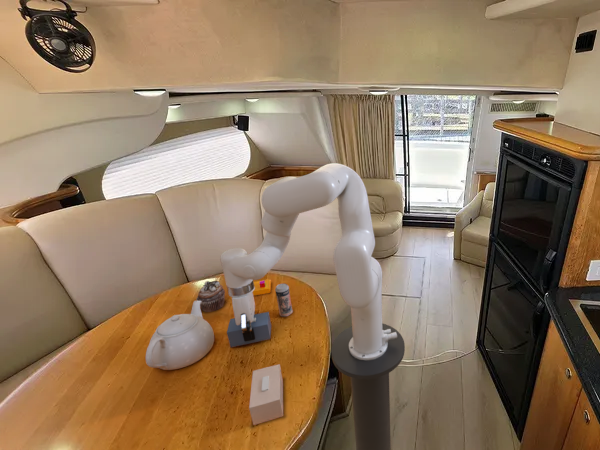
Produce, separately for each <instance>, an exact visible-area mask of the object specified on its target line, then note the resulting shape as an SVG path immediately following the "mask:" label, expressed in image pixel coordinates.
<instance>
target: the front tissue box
mask: <svg viewBox="0 0 600 450" xmlns="http://www.w3.org/2000/svg"><path fill="white" fill-rule="evenodd" d="M251 375H252V376H251V387H250V394H249V395H250V396H249V405H248V409H249V414H250V418H251V421H252V425H253V426H256V425H259V424H262V423H266V422H269V421H273V420H276V419H279V418H282V417H284V379H283V374H282V368H281V364H280V363H279V364H274V365H270V366H267V367H261V368H258V369H255V370H252V374H251Z"/></svg>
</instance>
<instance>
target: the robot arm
mask: <svg viewBox="0 0 600 450" xmlns="http://www.w3.org/2000/svg"><path fill="white" fill-rule="evenodd" d="M335 200H337V203H338V205H337V207H338V217H339V222H340V229H341V235H340V238H339V240H338V241H337V243H336V245H335V247H334V249H333V266H334V270H335V275H336V281H337V285H338V290H339V293H340V296H341V298H342V300H343V301H344V302H345V304H346V305H348V306H349V307H350V315H351V317H350V318H351V326H352V331H353V337H352V339H351V340H350V342H349V351H350V353H351V355H352V356H354V357H355V358H357V359H360V360H373V359H376V358H378V357H380V356H382V355H383V354H384V353H385V351H386V350H387V347H388V342H387V341H388V340H389V339H395V338H397V333H396V332H393V333H391V330H390V329H388V330H382V323H383V302H382V301H383V300H382V298H383V297H382V296H383V295H382V294H383V291H382V290H383V270H382V266H381V264H380V263H379V261H378V260H377V259H376V258H375V257H373V253H374V250H375V247H376V239H375V238H376V237H375V232H374V227H373V221H372V215H371V209H370V203H369V202H370V201H369V197H368V192H367V188H366V186H365V183H364V181H363V179H362V178H361V176H360V175H359V174H358V173H357V172H356V171H355V170H354V169H352V168H351V167H349V166H347V165H346V164H342V163H337V162H333V163H327V164H325V165H322V166H321V167H319V168H317V169H315V170H314V171H312V172H311V173H308V174H305V175H301V176H299V177H296V176H286V177H283V178H281V179H279V180H277V181H275V182H272V183H271V184H269V185H268V186H266V188H265V189H264V190H263V192H262V194H261V205H262V207H263V209H264V212H263V215H262V217H261V220H260V225H261V227H262V228H263V230H264V231H266V233H265V235H264V238H263V240H262V242H261V243H260V245H258V247H257V248H255V249H254V250H253V251H252V252H250V253H248V251H247V250H246V249H244V248H242V247H234V248H229V249H227V250H225V251H223V252H222V253H221V254H220V257H219V260H220V265H221V269H222V274H223V277H224V281H225V285H226V289H227V293H228V296H229V297H231V304H232V310H233V317H234V318H235V322H236V325H240V323H241V326H242V333H243V338H244V341H245V342H246V341H251V340H255V334H254V330H253V329H252V323H251V322H252V321H253V318H254V314H256V311H255V310H256V303H255V296H253V291H254V289H255V286H254V282H255V281H259V280H262V279H263V278H264V277H266V275H267V274H268V273H269V272H270V271H271V270H272V269H273V268H274V266H276V265H277V264H278V263H279V261H280V260H281V259H282V257H283V255H284V253H285V251H286V249H287V247H288V245H289V243H290V240H291V235H292V230H293V228H294V226H295V225H296V222H297V220H298V218H299V215H300V214H302V213H306V212H309V211H313V210H316V209H320V208H323V207H326V206H328V205H330V204H331V203H333V202H334V201H335ZM247 319H248V320H249V321H247ZM248 323H249V327H247V324H248ZM389 333H390V334H389Z"/></svg>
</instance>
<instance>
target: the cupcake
mask: <svg viewBox="0 0 600 450" xmlns="http://www.w3.org/2000/svg"><path fill="white" fill-rule="evenodd" d="M225 291H226V290H225V289H224V287H223V285H222V284H221V282H220V281H218V280H213V281H209V280H208V281H207V280H206V281H205V282H204V284H203V285H202V287H201V288H200V290H199V291H198V294H197V296H196V301H202V302H201V304H200V309H201V311H203V312H205V313H211V312H214V311H215V312H216V311H219V310H220V309H222V308H224V305H225V295H226V292H225Z"/></svg>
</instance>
